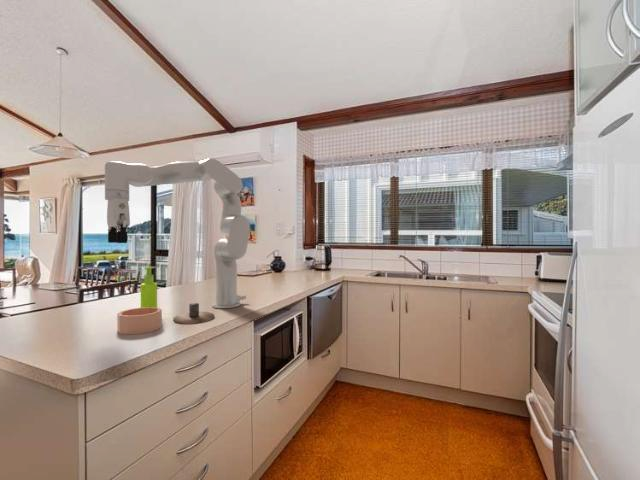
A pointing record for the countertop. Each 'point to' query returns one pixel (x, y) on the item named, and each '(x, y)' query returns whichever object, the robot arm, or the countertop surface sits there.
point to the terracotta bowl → (139, 320)
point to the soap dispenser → (149, 290)
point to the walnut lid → (193, 316)
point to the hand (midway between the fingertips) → (117, 242)
